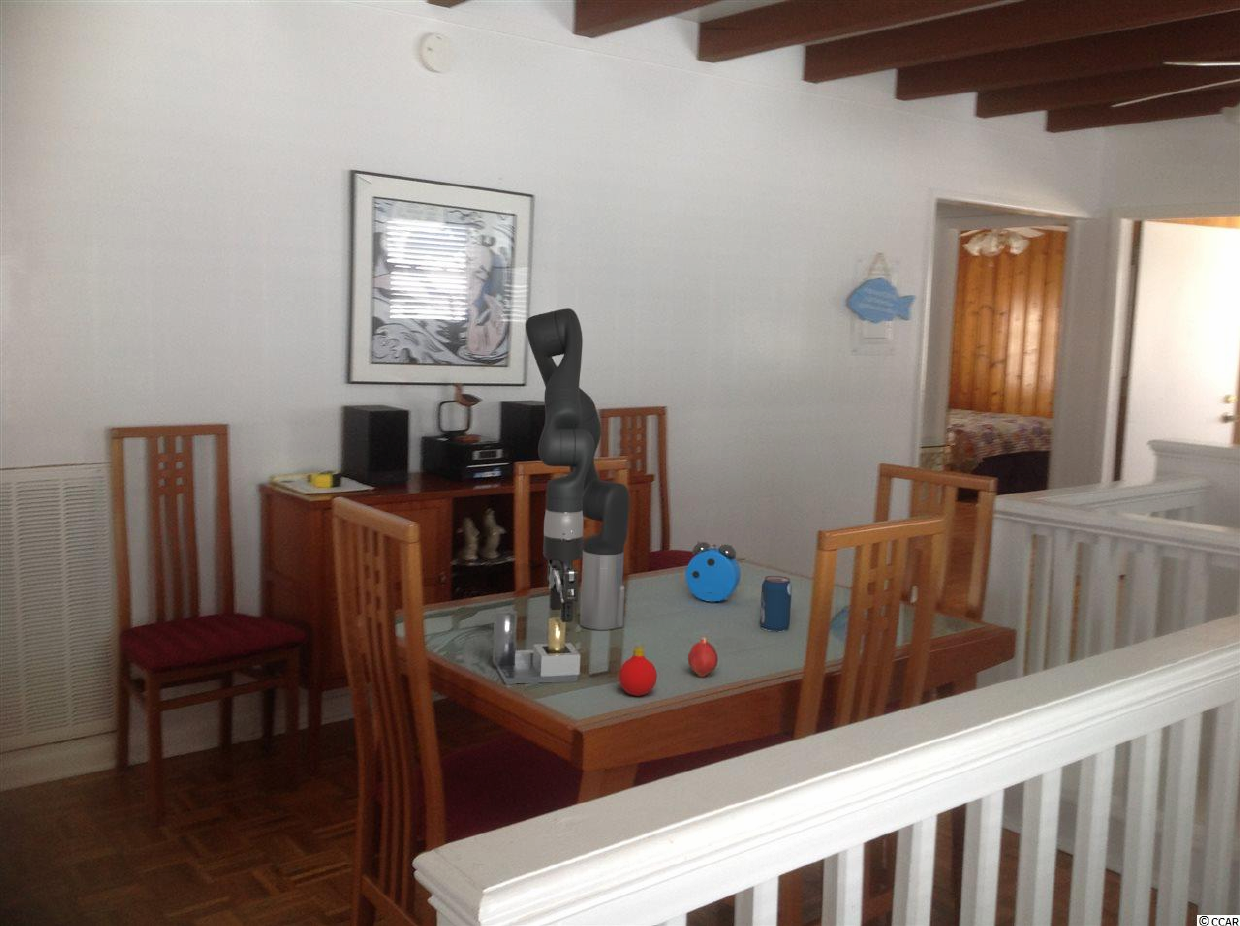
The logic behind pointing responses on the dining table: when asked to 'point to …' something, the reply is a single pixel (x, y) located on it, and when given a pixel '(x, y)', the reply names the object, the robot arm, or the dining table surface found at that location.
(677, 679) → the dining table surface
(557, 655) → the grey desk organizer
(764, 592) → the soda can
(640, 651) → the christmas ornament
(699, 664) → the onion
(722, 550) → the alarm clock
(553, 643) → the gold cylinder
